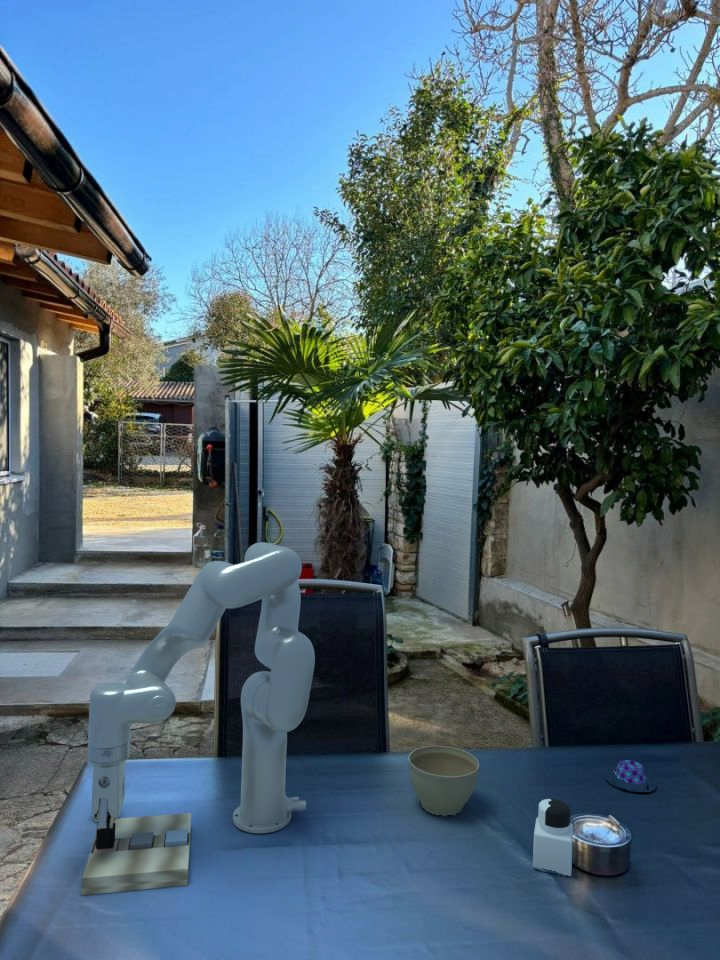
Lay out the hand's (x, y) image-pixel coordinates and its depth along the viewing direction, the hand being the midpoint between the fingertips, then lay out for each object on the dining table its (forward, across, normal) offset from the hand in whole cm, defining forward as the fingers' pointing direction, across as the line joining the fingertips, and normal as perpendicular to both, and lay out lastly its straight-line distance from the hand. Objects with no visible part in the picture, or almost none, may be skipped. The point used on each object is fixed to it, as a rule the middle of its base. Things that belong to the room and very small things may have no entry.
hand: (105, 846), depth 125 cm
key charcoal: (+1, 0, -7) cm, 7 cm away
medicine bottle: (+3, -15, -86) cm, 87 cm away
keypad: (+3, 0, -7) cm, 7 cm away
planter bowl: (+3, +10, -72) cm, 72 cm away
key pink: (+2, 0, 0) cm, 2 cm away
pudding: (+3, +14, -124) cm, 124 cm away
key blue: (+1, 0, -13) cm, 13 cm away
